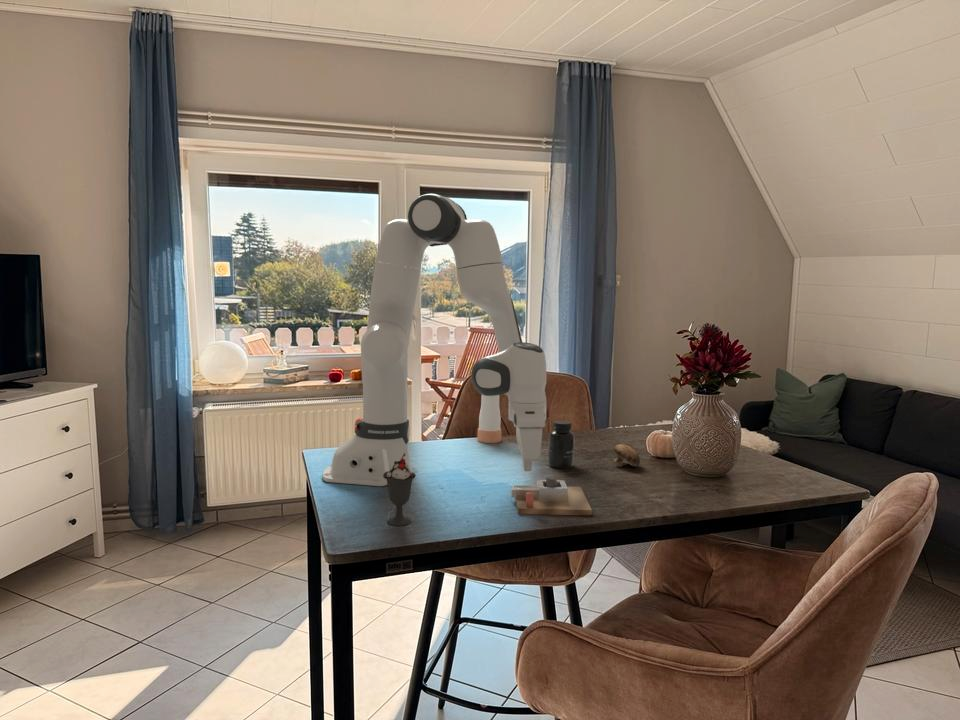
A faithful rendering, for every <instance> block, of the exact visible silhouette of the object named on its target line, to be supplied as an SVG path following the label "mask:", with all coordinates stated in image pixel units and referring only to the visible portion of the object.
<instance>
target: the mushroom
mask: <svg viewBox="0 0 960 720" xmlns="http://www.w3.org/2000/svg"><path fill="white" fill-rule="evenodd" d="M613 452H614V454H616V458H614V459H613V463H614V464H615V465H616V466H617V467H619V468H620V467H621V468H622V467H623V466H625V465H630V466H631V467H638V466H639V465H640V463H641V461H640V460H641V458H640V455H639V453H638V452H637V451H636V449H634V448H632V447H631V446H629V445H628V444H627V445H626V444H624V443H620V444H615V446H614V447H613Z"/></svg>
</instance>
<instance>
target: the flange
mask: <svg viewBox="0 0 960 720" xmlns="http://www.w3.org/2000/svg"><path fill="white" fill-rule="evenodd" d="M535 484H536V485H535V486H536V488H521V487H514V486H513V487H510V497H511V498H514V499H515V498H526V493H528V492H532V493H534V498H538V500H539V501H545V502H567V499H568V488H567V487H568V486H567V484H566V481H565V480H564V479H563V480H562V479H557V487H546V479H536V483H535Z"/></svg>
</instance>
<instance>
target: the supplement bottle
mask: <svg viewBox="0 0 960 720" xmlns="http://www.w3.org/2000/svg"><path fill="white" fill-rule="evenodd" d="M572 428H573V427H572V422H571V421H569V420H554V421H553V427H552V429H553V430H552V431H551V432H550V433H549V436H548V437H549V438H548V455H547V457H548V458H547V464H548V465H549V467H551V468H555V469H570V468H573V466H574V460H575V459H574V456H575V433H574V432H572V431H571V430H572Z"/></svg>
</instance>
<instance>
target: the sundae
mask: <svg viewBox="0 0 960 720" xmlns="http://www.w3.org/2000/svg"><path fill="white" fill-rule="evenodd" d="M404 456H405V453H404V455H403V456H402V459H401V460H400V461H395V462H394V464H393V467H392V469H391V470H390V471H387V472H385V473H384V474H383V478H385V479H386V480H387V484H388V485H387V491H388V498H389V501H390V502H391V503H392V504H393V505H394V506H395V507H396V511H395V516H393V517H389V518H388V519H387V524H388V525H390V526H395V527H403V526H407V525H409V524H411V523H412V519H410V518H409V517H405V516H404V515H403V506H404V505H405V504H406V503H407V502H409V499H410V495H411V489H412V483H413V480H414V479H415V478H416V476H417V475H416V474H415V472H414V471H413V472H411V470H409V467H408V464H407V463H406V462H405V459H403V457H404Z"/></svg>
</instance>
